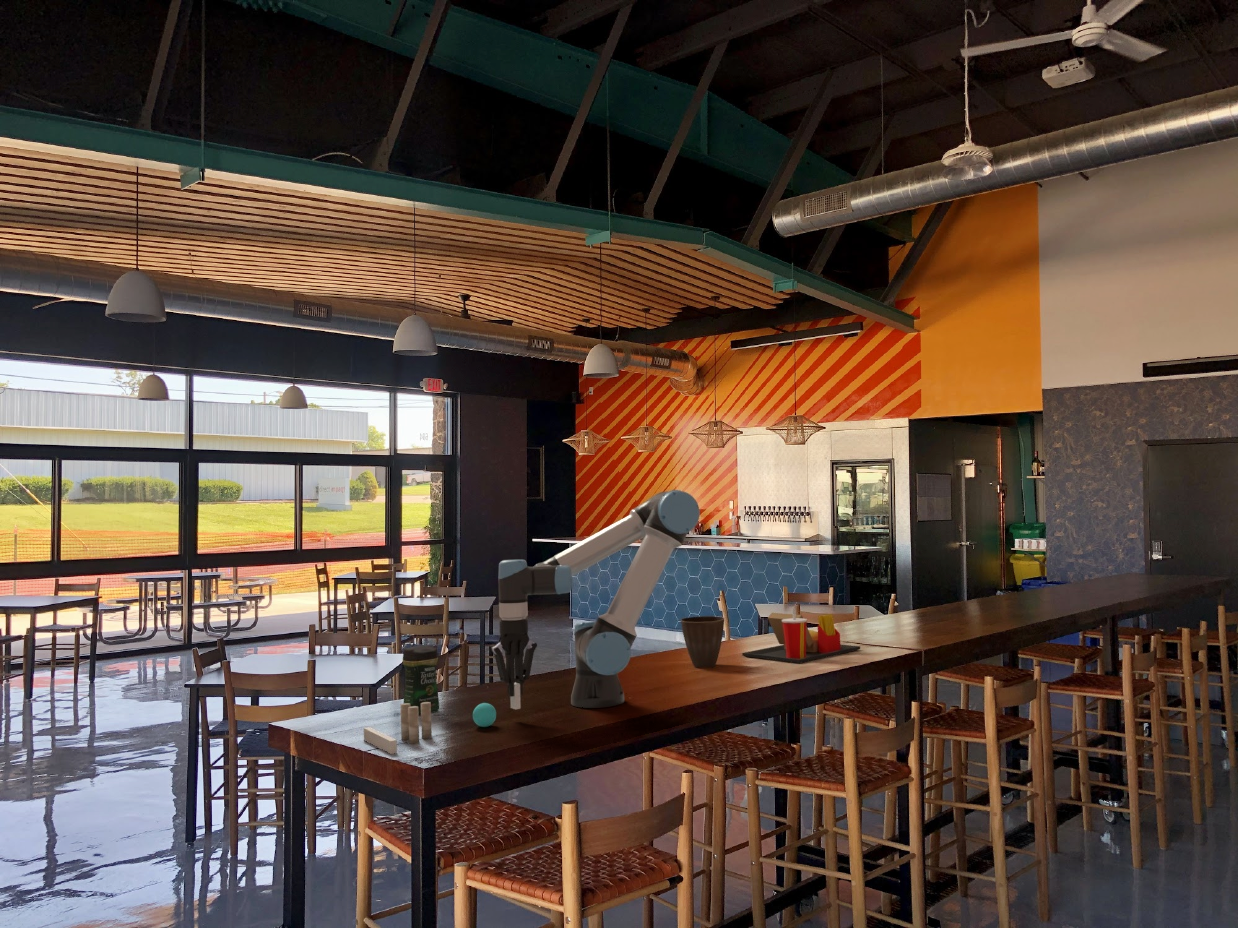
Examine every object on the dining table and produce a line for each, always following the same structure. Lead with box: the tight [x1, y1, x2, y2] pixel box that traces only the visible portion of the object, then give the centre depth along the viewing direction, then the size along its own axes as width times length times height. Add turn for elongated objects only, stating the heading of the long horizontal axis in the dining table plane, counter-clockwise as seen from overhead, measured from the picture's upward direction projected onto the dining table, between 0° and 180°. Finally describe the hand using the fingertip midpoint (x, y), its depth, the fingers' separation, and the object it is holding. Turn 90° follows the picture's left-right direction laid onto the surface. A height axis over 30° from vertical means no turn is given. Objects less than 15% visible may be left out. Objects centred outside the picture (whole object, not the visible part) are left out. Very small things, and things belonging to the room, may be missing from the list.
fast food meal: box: [741, 606, 861, 664], centre depth 332 cm, size 26×35×18 cm
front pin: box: [420, 702, 433, 740], centre depth 230 cm, size 2×2×8 cm
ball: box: [472, 702, 497, 728], centre depth 239 cm, size 6×6×6 cm
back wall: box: [363, 726, 398, 755], centre depth 223 cm, size 2×18×3 cm, turn 35°
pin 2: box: [408, 706, 420, 745], centre depth 225 cm, size 2×2×8 cm
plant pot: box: [680, 615, 725, 669], centre depth 315 cm, size 15×15×16 cm
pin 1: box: [399, 702, 410, 741], centre depth 229 cm, size 2×2×8 cm
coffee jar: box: [402, 644, 440, 716], centre depth 260 cm, size 10×8×19 cm
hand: (515, 708), depth 244 cm, fingers closed
